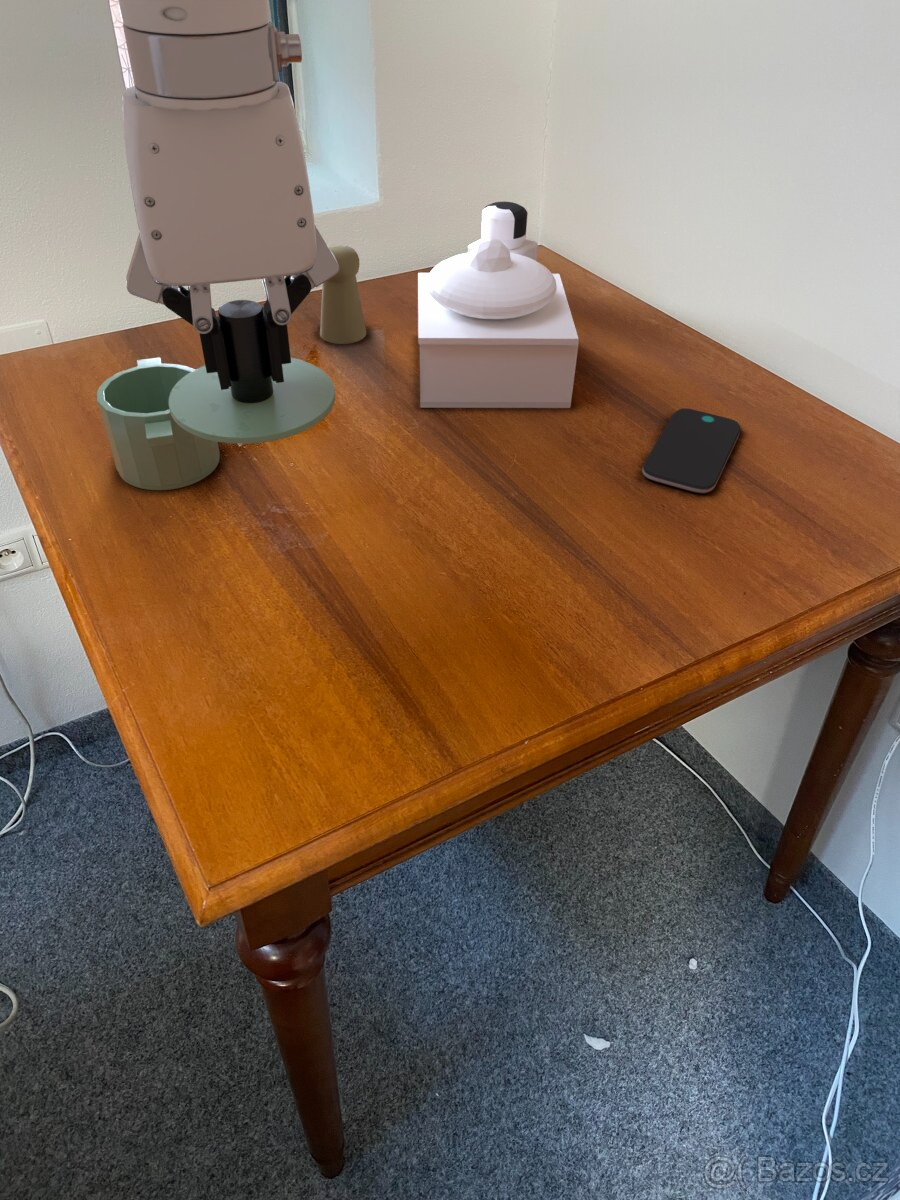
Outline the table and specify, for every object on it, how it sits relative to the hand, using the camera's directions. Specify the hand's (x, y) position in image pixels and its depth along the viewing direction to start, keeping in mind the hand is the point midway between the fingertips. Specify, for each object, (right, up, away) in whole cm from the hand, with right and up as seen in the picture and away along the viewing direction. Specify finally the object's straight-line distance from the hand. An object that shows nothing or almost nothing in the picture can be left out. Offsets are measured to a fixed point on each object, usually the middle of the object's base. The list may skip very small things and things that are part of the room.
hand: (249, 374), depth 59 cm
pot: (-16, -1, +33) cm, 37 cm away
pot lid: (0, -1, +1) cm, 2 cm away
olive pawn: (0, +19, +55) cm, 59 cm away
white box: (+18, +13, +48) cm, 53 cm away
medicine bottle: (+21, +28, +65) cm, 74 cm away
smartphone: (+40, +1, +36) cm, 54 cm away
